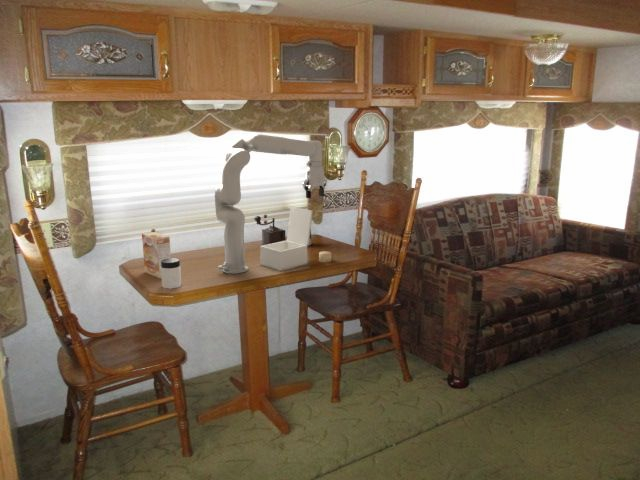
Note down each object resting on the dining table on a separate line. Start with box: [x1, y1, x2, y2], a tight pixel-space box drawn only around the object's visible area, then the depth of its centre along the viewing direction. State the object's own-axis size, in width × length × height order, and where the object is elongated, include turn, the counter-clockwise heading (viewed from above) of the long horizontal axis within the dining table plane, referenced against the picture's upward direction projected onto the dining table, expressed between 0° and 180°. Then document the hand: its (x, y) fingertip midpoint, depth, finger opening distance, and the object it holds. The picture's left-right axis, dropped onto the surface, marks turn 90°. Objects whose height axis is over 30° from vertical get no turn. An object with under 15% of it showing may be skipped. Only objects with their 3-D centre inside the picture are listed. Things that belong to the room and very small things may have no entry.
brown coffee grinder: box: [254, 215, 287, 246], centre depth 315 cm, size 16×11×18 cm
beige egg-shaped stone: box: [318, 251, 332, 264], centre depth 284 cm, size 6×6×4 cm
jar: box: [161, 257, 182, 290], centre depth 242 cm, size 9×8×12 cm
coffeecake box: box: [141, 231, 172, 279], centre depth 260 cm, size 15×7×20 cm, turn 45°
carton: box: [259, 239, 308, 272], centre depth 276 cm, size 18×16×10 cm
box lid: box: [286, 206, 314, 248], centre depth 281 cm, size 19×16×1 cm
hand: (315, 196), depth 286 cm, fingers open, 9 cm apart
